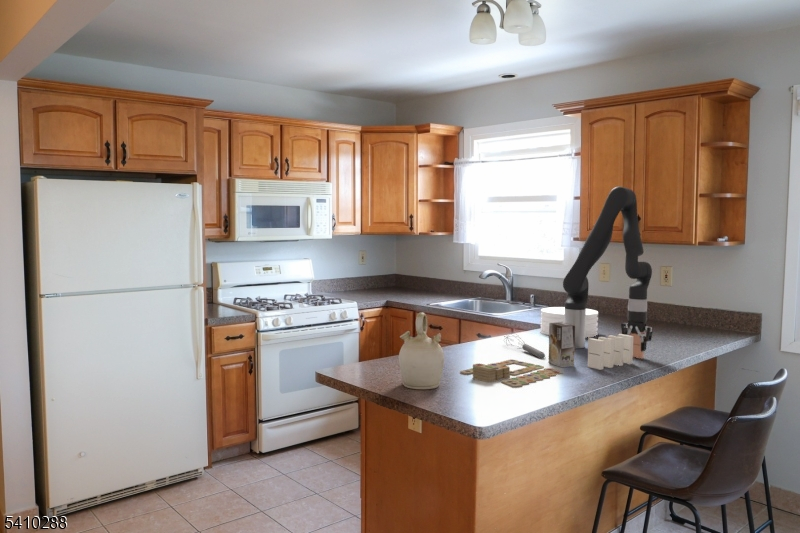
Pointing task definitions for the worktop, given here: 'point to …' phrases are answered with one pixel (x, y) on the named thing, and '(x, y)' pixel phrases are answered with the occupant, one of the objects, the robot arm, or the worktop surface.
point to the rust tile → (637, 346)
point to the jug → (421, 358)
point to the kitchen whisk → (529, 349)
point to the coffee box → (561, 344)
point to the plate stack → (558, 316)
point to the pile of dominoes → (510, 373)
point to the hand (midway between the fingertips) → (636, 349)
